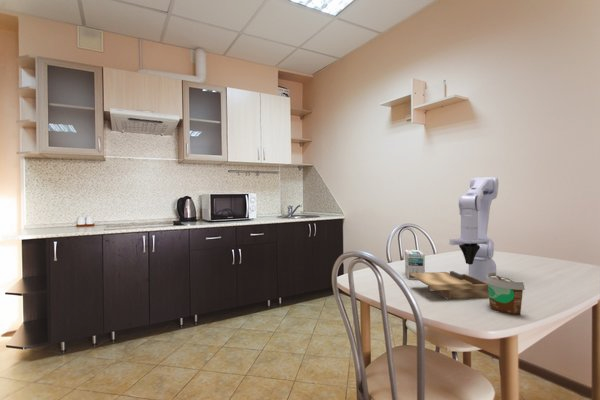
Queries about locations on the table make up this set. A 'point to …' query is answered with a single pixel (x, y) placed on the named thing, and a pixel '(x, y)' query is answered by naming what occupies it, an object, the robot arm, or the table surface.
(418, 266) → the light bulb box
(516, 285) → the food container
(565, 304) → the table surface
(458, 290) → the mailer box
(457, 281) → the mailer lid
